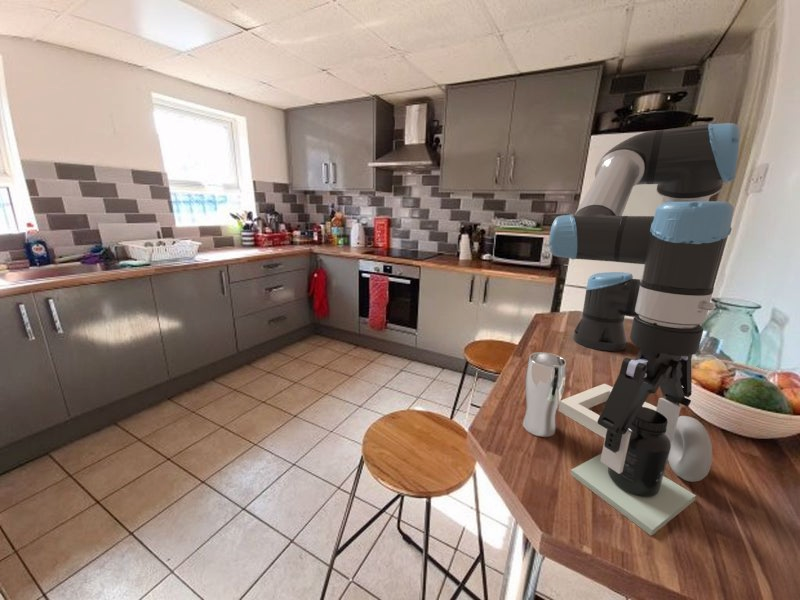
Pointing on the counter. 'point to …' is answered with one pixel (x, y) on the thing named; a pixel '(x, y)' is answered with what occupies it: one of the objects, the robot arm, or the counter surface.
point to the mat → (634, 496)
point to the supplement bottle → (644, 455)
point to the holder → (581, 403)
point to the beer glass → (543, 392)
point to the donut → (690, 450)
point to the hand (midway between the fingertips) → (637, 451)
